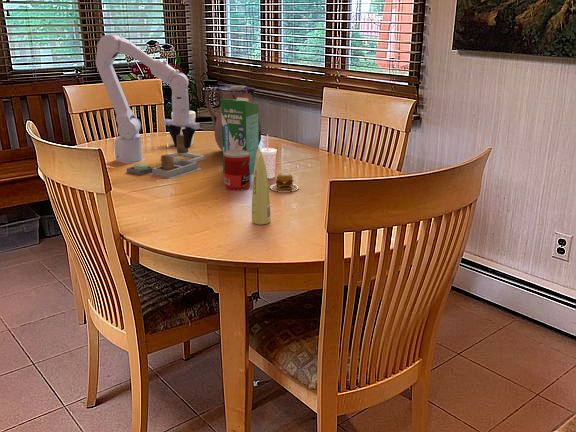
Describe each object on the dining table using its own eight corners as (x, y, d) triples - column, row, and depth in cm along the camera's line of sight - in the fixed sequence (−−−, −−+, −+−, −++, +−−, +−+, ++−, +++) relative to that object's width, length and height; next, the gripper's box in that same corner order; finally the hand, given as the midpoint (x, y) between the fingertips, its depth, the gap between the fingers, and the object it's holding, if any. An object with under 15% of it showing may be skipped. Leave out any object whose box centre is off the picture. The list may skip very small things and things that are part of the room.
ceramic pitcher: (259, 159, 213) (259, 90, 204) (202, 158, 213) (199, 90, 204) (262, 148, 229) (262, 84, 220) (209, 147, 229) (207, 83, 221)
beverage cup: (260, 179, 188) (260, 137, 183) (256, 174, 193) (256, 133, 188) (278, 178, 189) (279, 136, 184) (274, 173, 195) (274, 132, 190)
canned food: (246, 191, 176) (246, 156, 172) (221, 189, 177) (220, 154, 173) (253, 184, 183) (252, 150, 179) (228, 182, 184) (227, 149, 180)
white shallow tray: (161, 162, 208) (161, 156, 207) (179, 156, 215) (179, 151, 215) (187, 167, 201) (187, 161, 201) (205, 161, 209) (205, 155, 208)
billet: (174, 152, 206) (173, 135, 204) (182, 150, 210) (181, 133, 208) (183, 153, 204) (182, 137, 202) (190, 151, 208) (189, 135, 206)
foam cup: (169, 145, 232) (167, 113, 228) (179, 141, 240) (177, 109, 236) (190, 147, 230) (189, 115, 225) (200, 142, 238) (199, 111, 233)
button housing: (127, 175, 191) (126, 168, 190) (141, 171, 196) (141, 164, 195) (141, 178, 188) (140, 171, 187) (155, 174, 193) (154, 167, 192)
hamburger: (260, 194, 175) (260, 177, 173) (270, 183, 186) (270, 167, 184) (299, 197, 172) (299, 180, 170) (306, 186, 183) (307, 169, 181)
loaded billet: (159, 174, 189) (158, 156, 187) (168, 171, 193) (167, 153, 190) (168, 175, 187) (167, 157, 185) (177, 173, 190) (176, 155, 188)
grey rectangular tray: (148, 176, 190) (148, 168, 189) (180, 167, 202) (179, 158, 200) (171, 181, 185) (170, 172, 184) (202, 171, 196) (201, 162, 195)
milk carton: (259, 169, 199) (258, 96, 190) (246, 176, 191) (245, 100, 183) (236, 166, 202) (234, 94, 194) (223, 173, 195) (220, 98, 186)
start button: (131, 174, 191) (130, 165, 190) (141, 171, 195) (140, 162, 194) (141, 176, 189) (140, 167, 188) (150, 173, 193) (150, 164, 192)
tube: (245, 221, 151) (244, 148, 144) (259, 216, 154) (258, 145, 148) (261, 226, 147) (261, 152, 141) (275, 221, 151) (274, 148, 144)
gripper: (156, 108, 202) (159, 146, 206) (190, 112, 195) (192, 151, 200) (169, 106, 207) (171, 143, 212) (202, 109, 201) (204, 147, 206)
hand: (182, 147), depth 206 cm, fingers closed on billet, 4 cm apart
